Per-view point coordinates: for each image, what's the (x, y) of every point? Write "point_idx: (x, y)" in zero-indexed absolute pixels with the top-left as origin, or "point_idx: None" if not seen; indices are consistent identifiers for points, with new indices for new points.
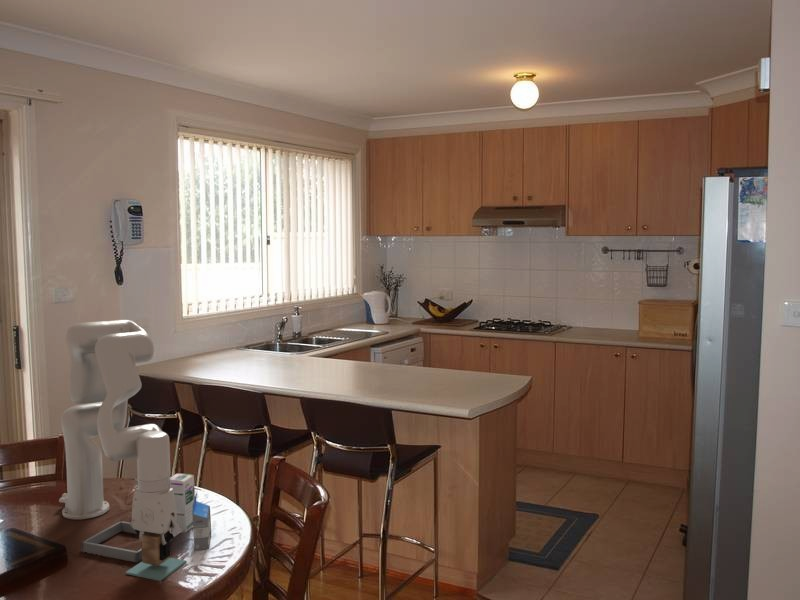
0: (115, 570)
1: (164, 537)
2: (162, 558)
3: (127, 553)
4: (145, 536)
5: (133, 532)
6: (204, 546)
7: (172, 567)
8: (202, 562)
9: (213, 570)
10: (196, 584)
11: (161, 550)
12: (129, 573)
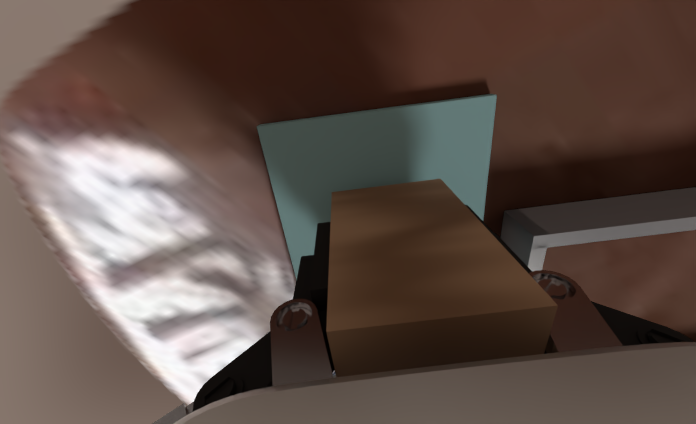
0: (571, 99)
1: (272, 364)
2: (317, 231)
3: (591, 220)
4: (494, 303)
5: None
6: None
7: (305, 239)
8: (250, 320)
9: (153, 298)
10: (81, 183)
11: (314, 259)
12: (467, 97)
